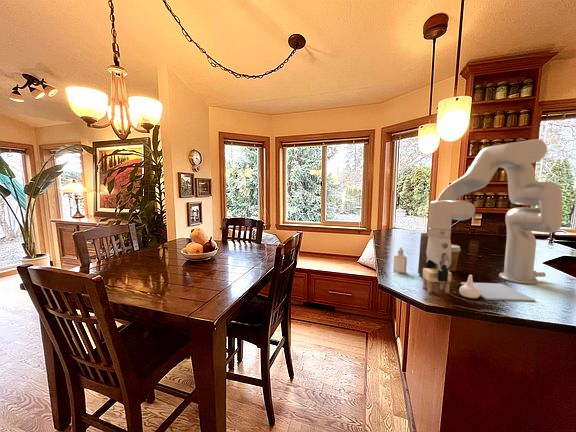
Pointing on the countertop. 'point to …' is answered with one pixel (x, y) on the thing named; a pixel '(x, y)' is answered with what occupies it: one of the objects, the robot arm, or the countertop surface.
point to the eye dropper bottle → (400, 262)
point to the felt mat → (499, 292)
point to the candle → (423, 253)
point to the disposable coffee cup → (454, 257)
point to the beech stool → (434, 279)
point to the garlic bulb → (469, 289)
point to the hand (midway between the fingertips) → (436, 276)
